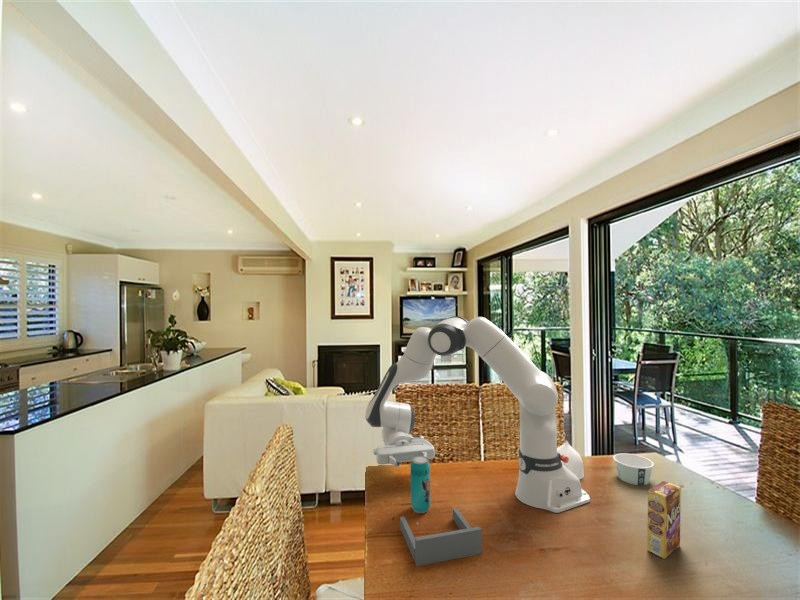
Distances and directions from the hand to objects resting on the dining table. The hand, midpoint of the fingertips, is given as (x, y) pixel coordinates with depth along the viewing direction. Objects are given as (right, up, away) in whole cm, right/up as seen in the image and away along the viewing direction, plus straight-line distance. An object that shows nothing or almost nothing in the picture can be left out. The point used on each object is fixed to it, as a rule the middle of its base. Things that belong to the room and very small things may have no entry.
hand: (411, 462), depth 122 cm
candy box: (+62, -10, -28) cm, 69 cm away
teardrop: (+57, -10, +14) cm, 59 cm away
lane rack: (+6, -10, -23) cm, 26 cm away
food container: (+77, -10, +9) cm, 79 cm away
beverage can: (+2, -10, -9) cm, 14 cm away
